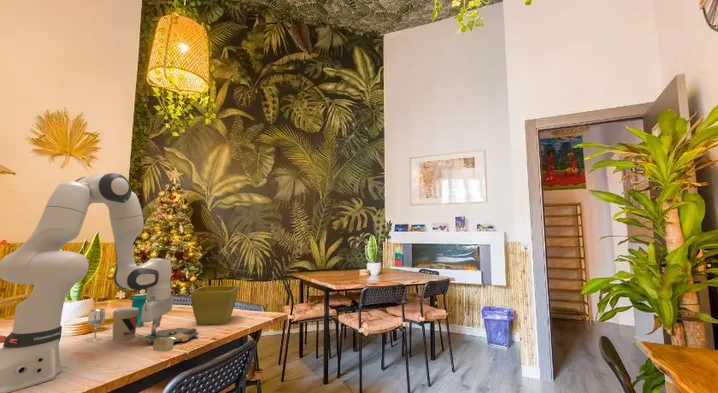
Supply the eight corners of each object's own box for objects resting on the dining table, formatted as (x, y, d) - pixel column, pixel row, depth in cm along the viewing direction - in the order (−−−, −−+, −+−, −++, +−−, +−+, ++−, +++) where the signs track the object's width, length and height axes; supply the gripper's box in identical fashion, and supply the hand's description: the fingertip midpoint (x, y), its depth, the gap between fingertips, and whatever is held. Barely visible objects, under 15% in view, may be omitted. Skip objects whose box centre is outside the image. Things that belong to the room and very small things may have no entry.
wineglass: (104, 339, 139) (107, 310, 141) (87, 342, 135) (90, 312, 137) (101, 336, 143) (104, 308, 145) (84, 339, 139) (87, 310, 140)
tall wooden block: (165, 351, 126) (166, 340, 127) (153, 350, 128) (153, 339, 128) (173, 348, 130) (173, 337, 130) (160, 347, 131) (161, 336, 131)
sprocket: (190, 342, 133) (191, 327, 134) (135, 345, 129) (137, 329, 130) (203, 328, 153) (204, 315, 154) (155, 330, 149) (157, 317, 150)
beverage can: (146, 325, 161) (149, 294, 162) (133, 328, 156) (136, 296, 158) (140, 323, 164) (143, 293, 165) (127, 326, 159) (130, 294, 161)
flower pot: (201, 317, 178) (203, 285, 180) (237, 316, 180) (239, 285, 182) (187, 327, 159) (189, 291, 161) (227, 326, 161) (229, 291, 163)
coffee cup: (123, 342, 136) (125, 312, 137) (104, 340, 137) (107, 311, 139) (142, 335, 145) (144, 307, 146) (124, 334, 147) (126, 306, 148)
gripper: (154, 299, 134) (152, 334, 132) (176, 290, 154) (174, 320, 152) (137, 299, 133) (135, 335, 132) (161, 290, 153) (159, 321, 152)
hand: (156, 327), depth 142 cm, fingers closed
